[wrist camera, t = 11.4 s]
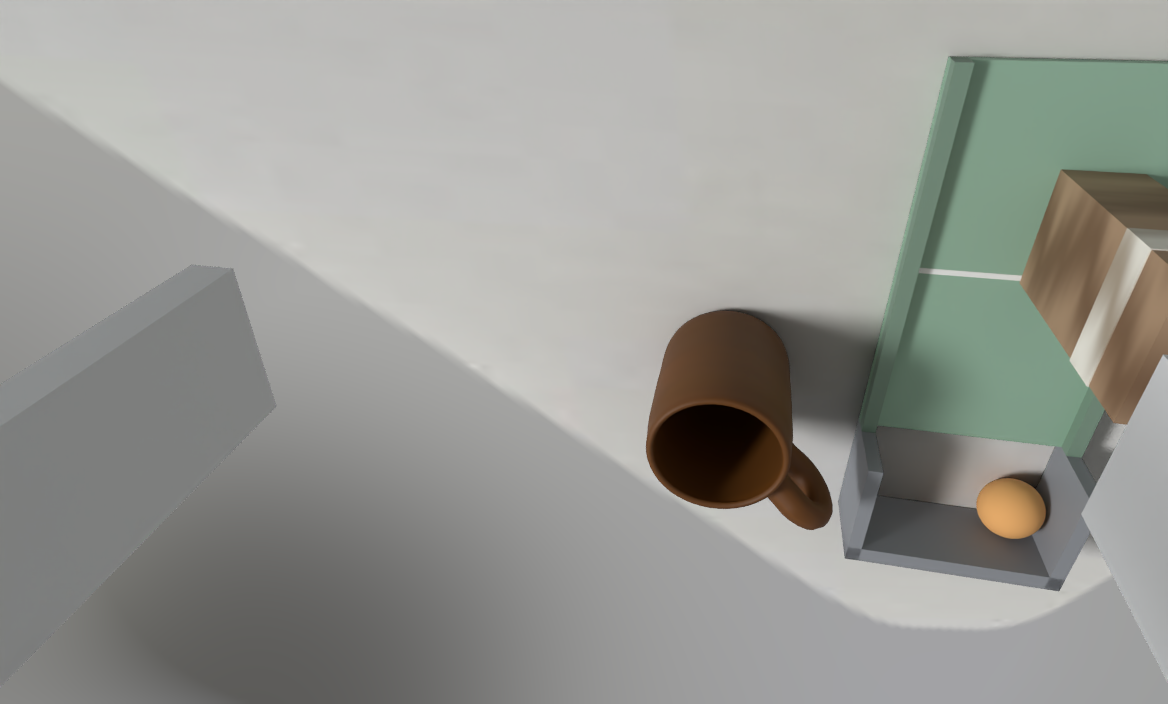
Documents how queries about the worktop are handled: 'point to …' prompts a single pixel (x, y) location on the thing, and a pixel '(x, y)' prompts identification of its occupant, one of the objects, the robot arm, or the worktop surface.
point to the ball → (1011, 508)
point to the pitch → (994, 306)
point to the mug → (731, 421)
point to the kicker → (1105, 280)
